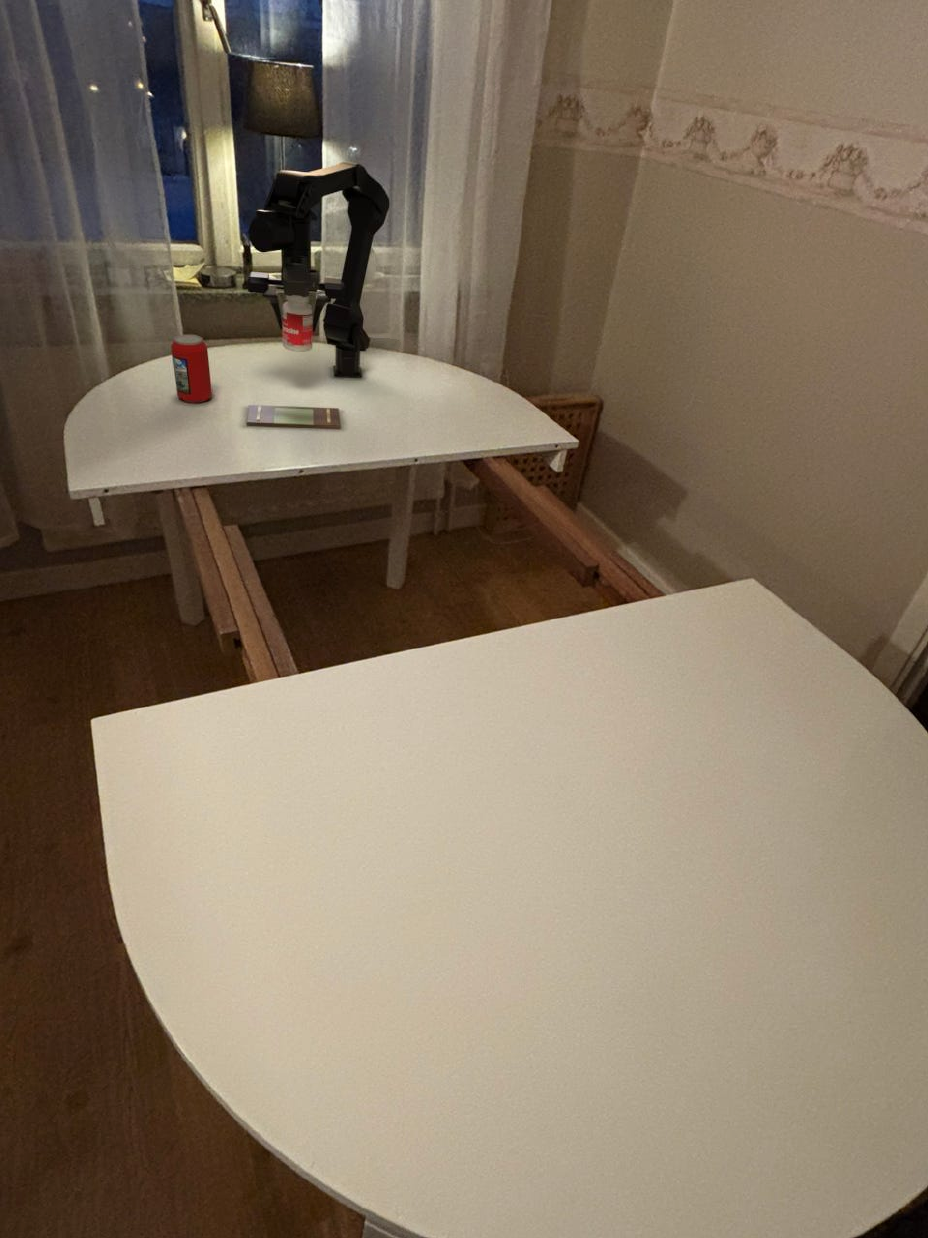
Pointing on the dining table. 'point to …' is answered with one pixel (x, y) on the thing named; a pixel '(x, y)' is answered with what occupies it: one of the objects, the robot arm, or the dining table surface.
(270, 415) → the brown and green board
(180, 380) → the beverage can
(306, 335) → the pill bottle
